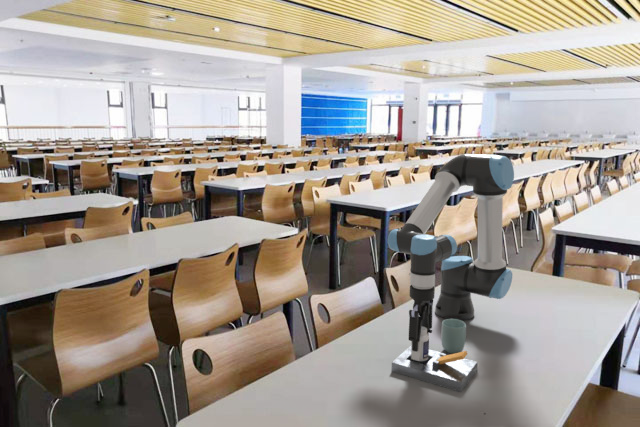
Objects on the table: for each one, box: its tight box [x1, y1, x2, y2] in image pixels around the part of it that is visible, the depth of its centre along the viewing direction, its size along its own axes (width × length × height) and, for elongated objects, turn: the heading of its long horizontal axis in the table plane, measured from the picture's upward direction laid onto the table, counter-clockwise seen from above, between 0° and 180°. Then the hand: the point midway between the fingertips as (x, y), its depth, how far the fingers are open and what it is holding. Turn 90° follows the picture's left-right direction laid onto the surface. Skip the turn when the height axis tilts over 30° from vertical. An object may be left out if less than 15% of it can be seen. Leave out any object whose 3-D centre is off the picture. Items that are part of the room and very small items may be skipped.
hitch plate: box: [391, 345, 478, 393], centre depth 160 cm, size 15×22×5 cm
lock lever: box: [435, 350, 468, 364], centre depth 156 cm, size 4×10×1 cm, turn 56°
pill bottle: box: [410, 326, 430, 362], centre depth 161 cm, size 5×5×10 cm
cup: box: [440, 318, 467, 354], centre depth 172 cm, size 8×8×10 cm
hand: (419, 355), depth 162 cm, fingers open, 6 cm apart
